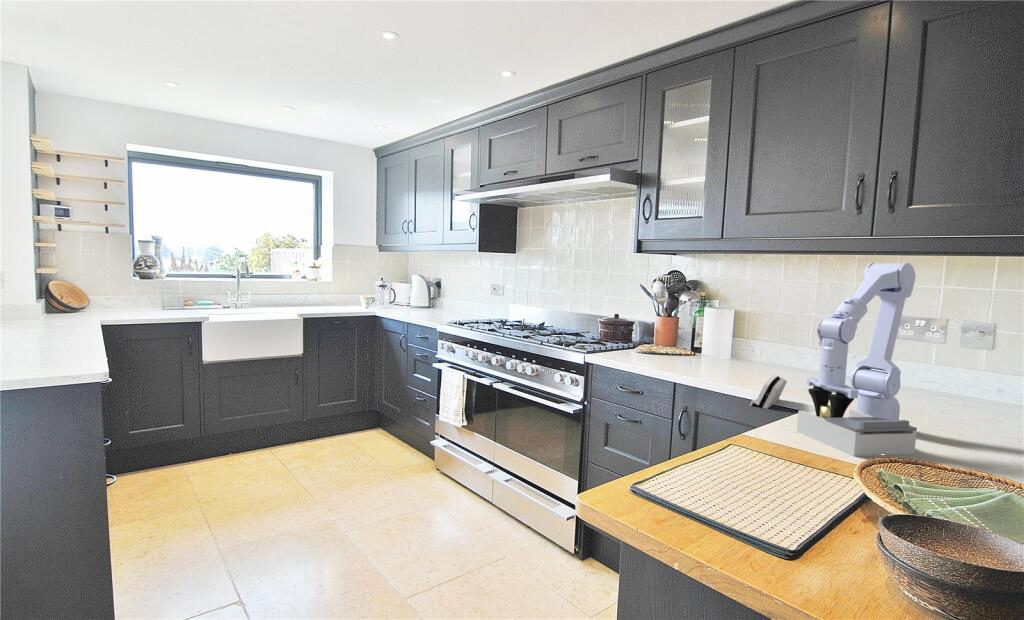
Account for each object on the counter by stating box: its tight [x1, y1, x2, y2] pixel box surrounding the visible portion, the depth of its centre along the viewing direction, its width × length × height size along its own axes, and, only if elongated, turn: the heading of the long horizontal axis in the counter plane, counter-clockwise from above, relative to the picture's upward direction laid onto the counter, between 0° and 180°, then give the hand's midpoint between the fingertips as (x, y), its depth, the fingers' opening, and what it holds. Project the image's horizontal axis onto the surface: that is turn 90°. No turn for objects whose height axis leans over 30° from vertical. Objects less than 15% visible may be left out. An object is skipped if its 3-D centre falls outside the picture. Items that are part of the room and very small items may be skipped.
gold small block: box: [820, 404, 831, 419], centre depth 134 cm, size 4×4×5 cm
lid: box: [825, 416, 918, 432], centre depth 125 cm, size 16×9×2 cm, turn 101°
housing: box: [796, 409, 917, 457], centre depth 129 cm, size 16×18×6 cm
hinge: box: [749, 374, 788, 410], centre depth 167 cm, size 17×5×10 cm, turn 143°
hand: (828, 419), depth 134 cm, fingers closed on gold small block, 4 cm apart
